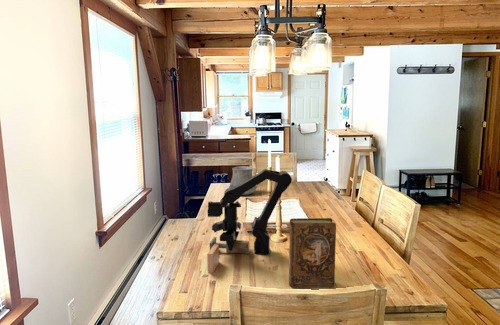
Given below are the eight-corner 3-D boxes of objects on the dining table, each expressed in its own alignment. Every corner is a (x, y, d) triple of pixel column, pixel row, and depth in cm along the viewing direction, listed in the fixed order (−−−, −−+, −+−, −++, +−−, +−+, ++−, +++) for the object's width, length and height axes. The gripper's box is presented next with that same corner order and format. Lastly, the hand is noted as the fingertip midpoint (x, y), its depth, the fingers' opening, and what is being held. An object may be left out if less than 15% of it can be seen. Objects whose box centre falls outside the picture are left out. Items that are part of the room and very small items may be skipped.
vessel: (248, 199, 263) (248, 171, 260) (223, 195, 275) (222, 168, 272) (263, 192, 282) (263, 166, 278) (239, 189, 293) (239, 164, 290)
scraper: (249, 249, 172) (249, 238, 171) (246, 256, 164) (246, 245, 164) (214, 246, 175) (214, 236, 174) (209, 253, 167) (209, 243, 166)
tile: (219, 262, 160) (218, 244, 158) (213, 272, 150) (212, 253, 148) (213, 261, 160) (213, 244, 159) (207, 272, 150) (207, 253, 149)
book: (290, 288, 137) (290, 223, 133) (288, 281, 142) (288, 218, 138) (334, 287, 137) (336, 222, 133) (330, 280, 143) (332, 217, 139)
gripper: (218, 209, 177) (219, 240, 180) (207, 222, 159) (208, 256, 162) (241, 210, 176) (241, 242, 178) (233, 223, 157) (233, 258, 160)
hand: (231, 249), depth 169 cm, fingers closed on scraper, 3 cm apart
